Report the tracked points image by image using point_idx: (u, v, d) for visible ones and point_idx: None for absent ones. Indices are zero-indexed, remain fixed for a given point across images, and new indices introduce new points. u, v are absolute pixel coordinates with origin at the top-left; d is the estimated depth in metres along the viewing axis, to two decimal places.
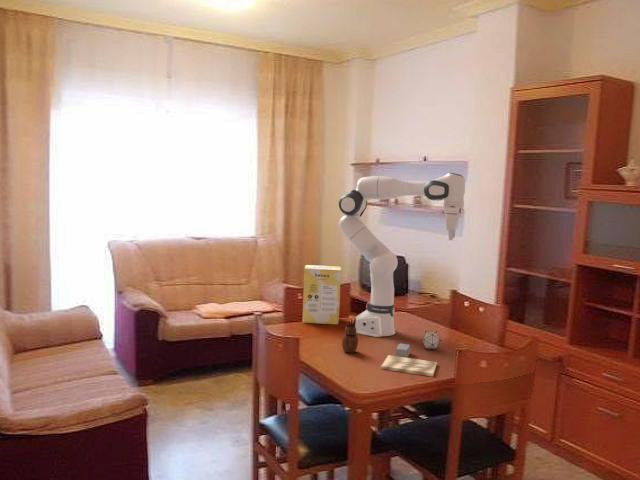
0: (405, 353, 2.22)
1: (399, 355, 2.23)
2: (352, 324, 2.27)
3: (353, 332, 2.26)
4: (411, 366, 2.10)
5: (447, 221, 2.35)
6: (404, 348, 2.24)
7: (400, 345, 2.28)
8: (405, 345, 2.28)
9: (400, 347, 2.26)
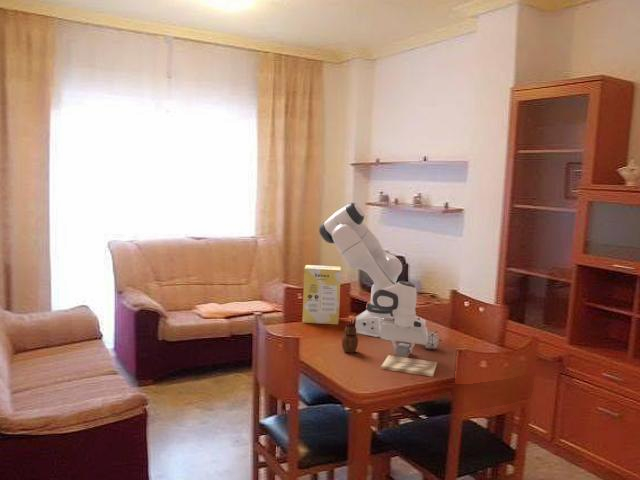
0: (405, 353, 2.22)
1: (399, 354, 2.23)
2: (352, 324, 2.27)
3: (353, 332, 2.26)
4: (411, 366, 2.10)
5: (426, 335, 2.21)
6: (404, 348, 2.24)
7: (400, 345, 2.28)
8: (405, 345, 2.28)
9: (400, 346, 2.26)
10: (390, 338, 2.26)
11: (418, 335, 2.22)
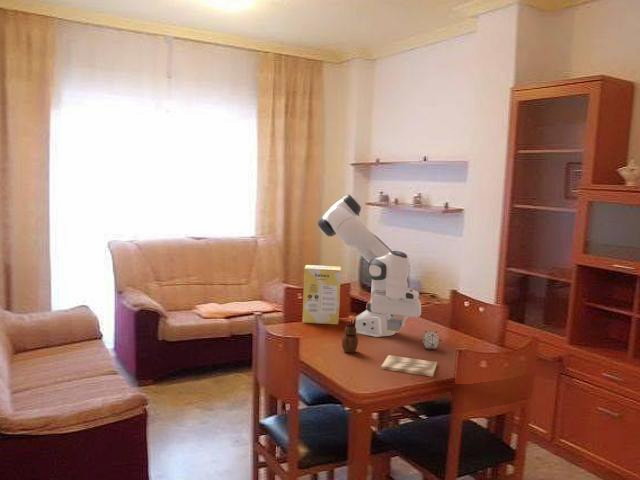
0: (397, 326, 2.12)
1: (390, 328, 2.13)
2: (352, 324, 2.27)
3: (353, 332, 2.26)
4: (411, 366, 2.10)
5: (419, 308, 2.11)
6: (396, 321, 2.14)
7: (392, 319, 2.17)
8: (397, 318, 2.18)
9: (391, 320, 2.15)
10: (381, 311, 2.16)
11: (410, 308, 2.12)
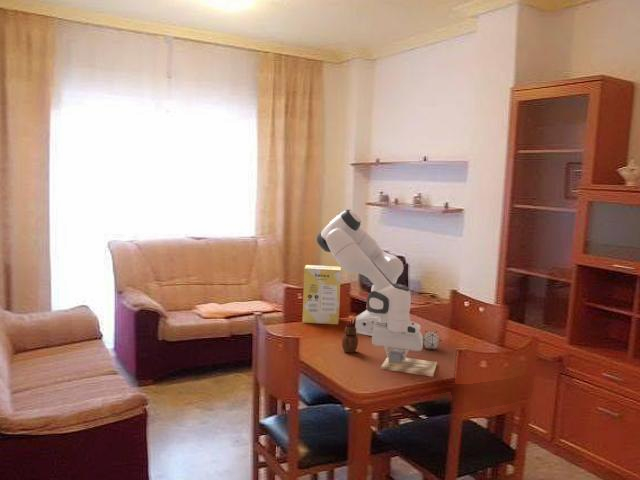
0: (398, 359, 2.10)
1: (392, 361, 2.11)
2: (352, 324, 2.27)
3: (353, 332, 2.26)
4: (411, 366, 2.10)
5: (421, 342, 2.09)
6: (397, 354, 2.12)
7: (393, 351, 2.15)
8: (399, 350, 2.16)
9: (393, 352, 2.13)
10: (383, 344, 2.14)
11: (412, 341, 2.10)
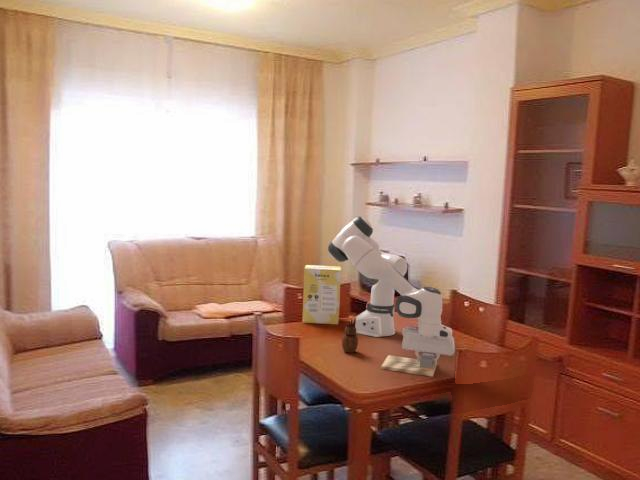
0: (430, 364, 2.06)
1: (423, 366, 2.07)
2: (352, 324, 2.27)
3: (353, 332, 2.26)
4: (411, 366, 2.10)
5: (453, 346, 2.05)
6: (429, 358, 2.08)
7: (424, 355, 2.12)
8: (429, 355, 2.12)
9: (424, 357, 2.10)
10: (413, 348, 2.10)
11: (444, 345, 2.06)
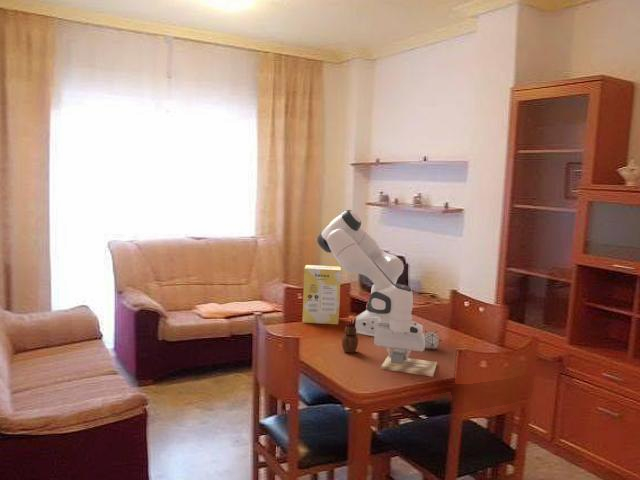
0: (401, 359, 2.10)
1: (394, 361, 2.11)
2: (352, 324, 2.27)
3: (353, 332, 2.26)
4: (411, 366, 2.10)
5: (423, 342, 2.09)
6: (400, 354, 2.12)
7: (395, 351, 2.15)
8: (401, 351, 2.16)
9: (395, 352, 2.13)
10: (385, 344, 2.14)
11: (414, 341, 2.10)
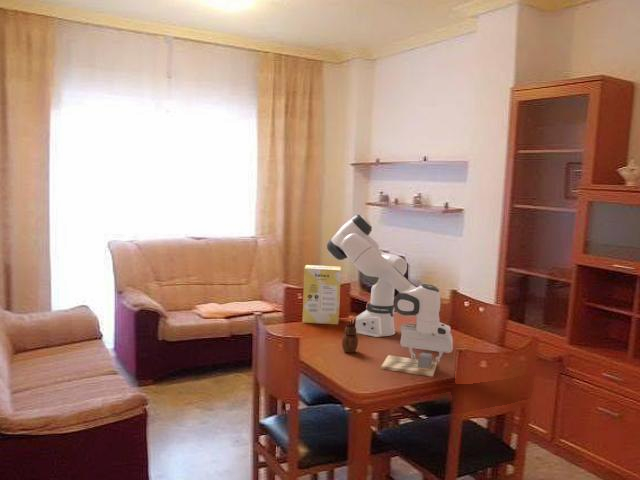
0: (428, 363, 2.06)
1: (421, 365, 2.07)
2: (352, 324, 2.27)
3: (353, 332, 2.26)
4: (411, 366, 2.10)
5: (451, 343, 2.05)
6: (427, 358, 2.08)
7: (422, 355, 2.12)
8: (427, 354, 2.12)
9: (422, 356, 2.10)
10: (412, 346, 2.10)
11: (442, 343, 2.06)
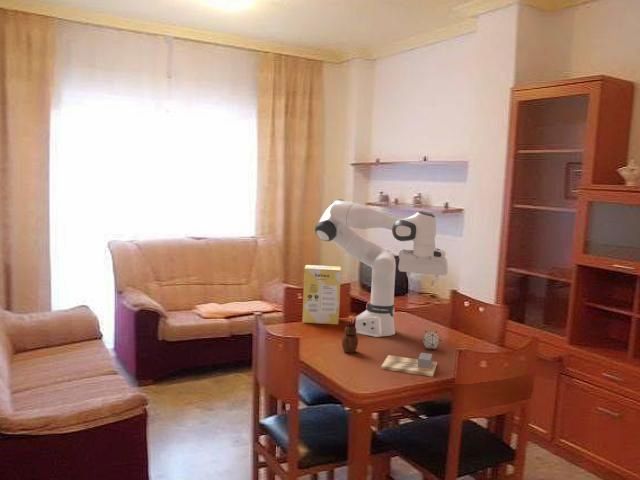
0: (428, 363, 2.06)
1: (421, 365, 2.07)
2: (352, 324, 2.27)
3: (353, 332, 2.26)
4: (411, 366, 2.10)
5: (446, 266, 2.18)
6: (427, 358, 2.08)
7: (422, 355, 2.12)
8: (427, 354, 2.12)
9: (422, 356, 2.10)
10: (409, 270, 2.23)
11: (437, 266, 2.19)
